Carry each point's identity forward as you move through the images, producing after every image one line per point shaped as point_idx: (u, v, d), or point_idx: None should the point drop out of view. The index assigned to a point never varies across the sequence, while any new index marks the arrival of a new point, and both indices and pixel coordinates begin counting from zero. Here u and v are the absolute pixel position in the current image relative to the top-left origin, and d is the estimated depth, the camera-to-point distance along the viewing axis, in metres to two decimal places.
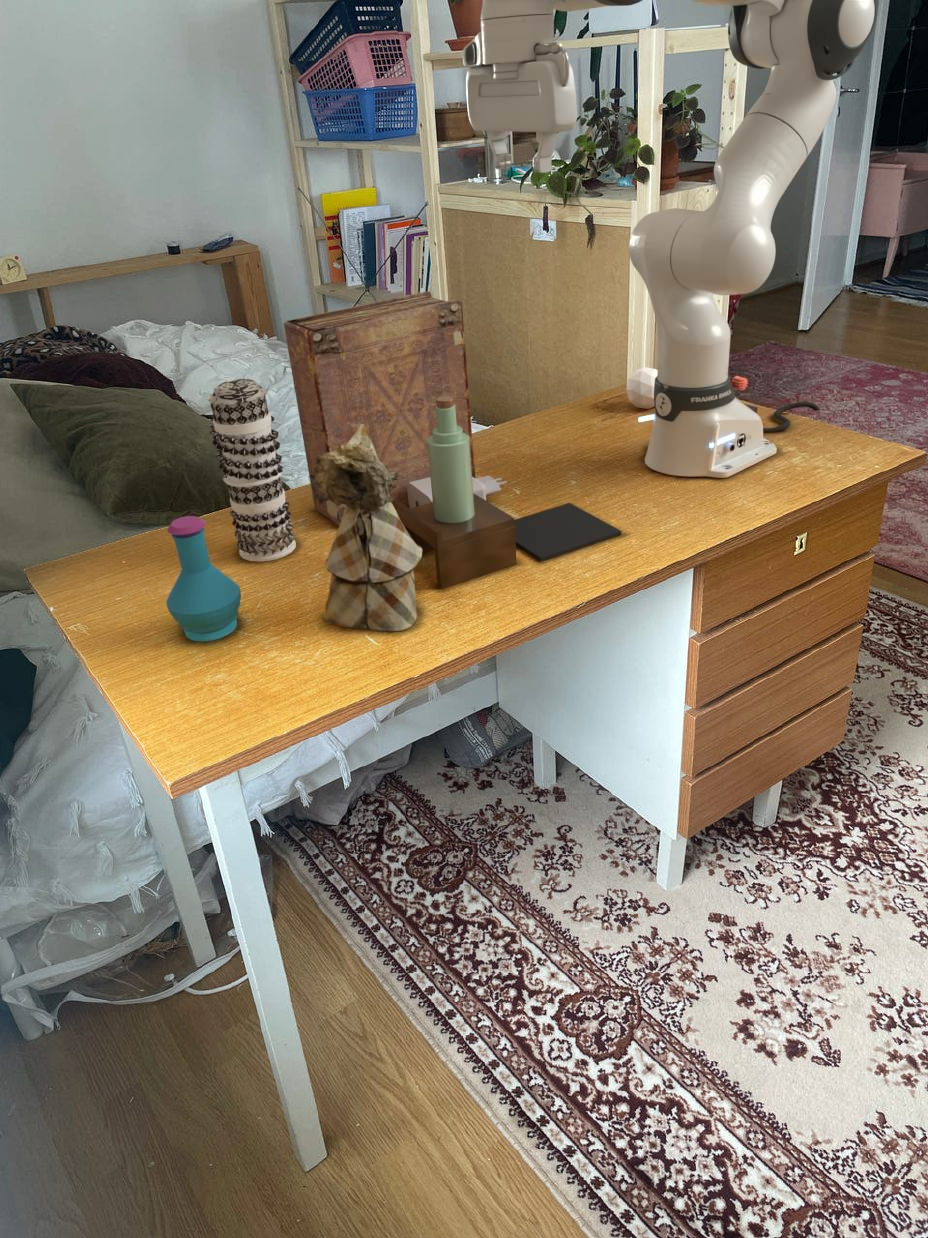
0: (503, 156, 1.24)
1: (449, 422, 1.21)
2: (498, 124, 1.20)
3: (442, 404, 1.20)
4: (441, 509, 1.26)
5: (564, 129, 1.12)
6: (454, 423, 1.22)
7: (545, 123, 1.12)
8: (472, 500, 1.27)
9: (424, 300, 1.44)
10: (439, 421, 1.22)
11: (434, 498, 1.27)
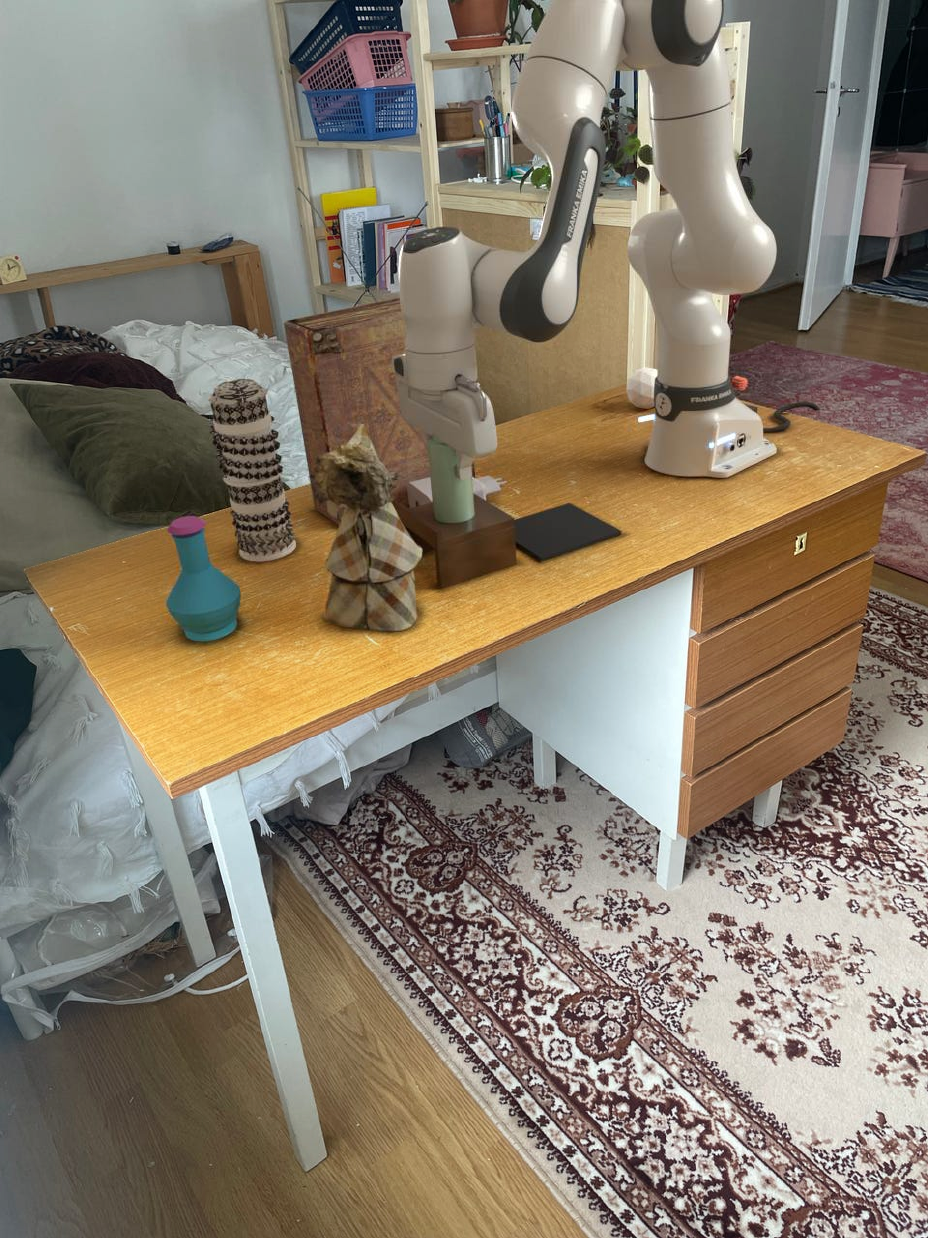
0: None
1: None
2: (426, 429, 1.24)
3: None
4: (441, 509, 1.26)
5: (485, 455, 1.16)
6: None
7: (466, 450, 1.16)
8: (472, 500, 1.27)
9: None
10: None
11: (434, 498, 1.27)
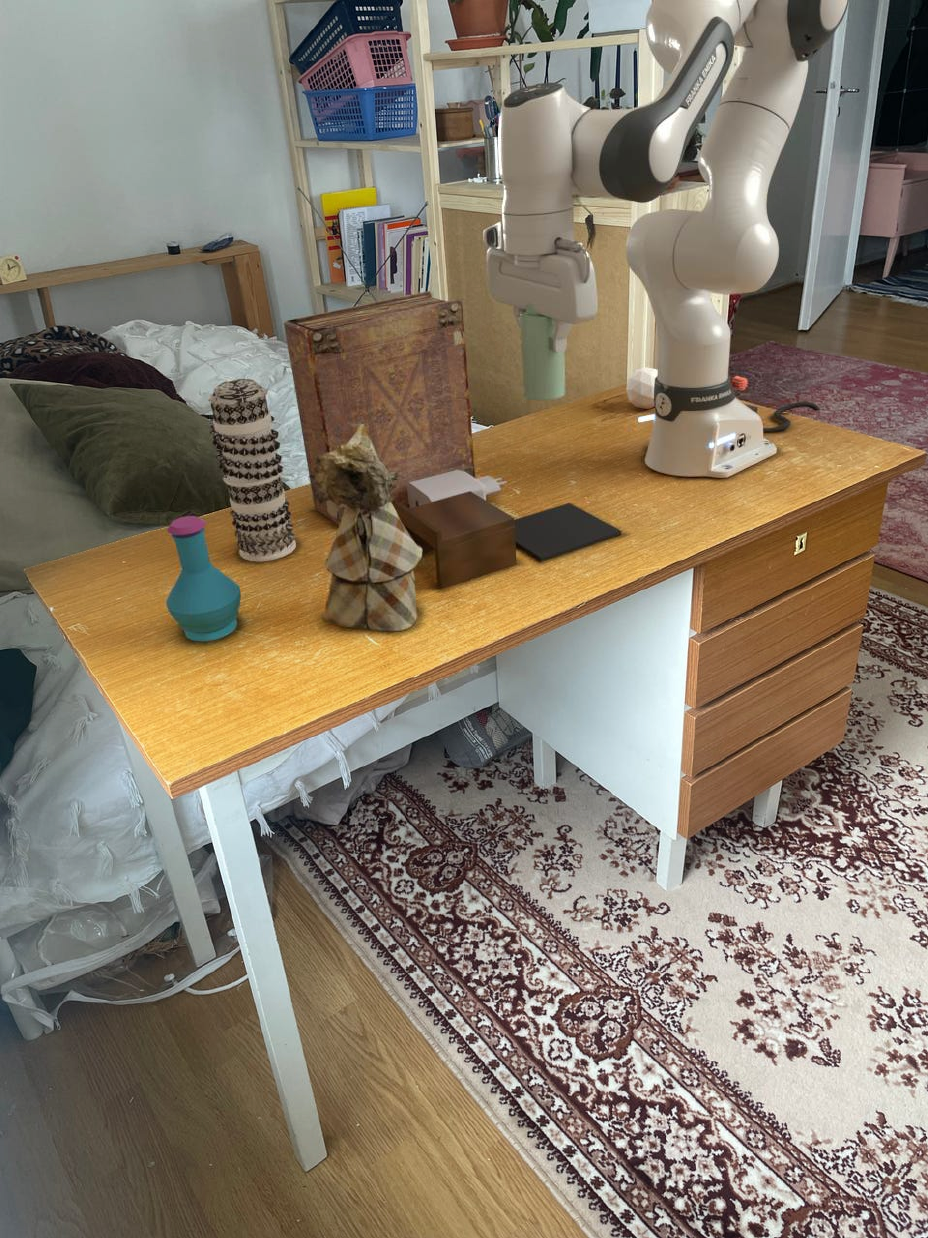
0: None
1: None
2: (519, 303, 1.23)
3: None
4: (533, 385, 1.25)
5: (585, 320, 1.14)
6: None
7: (566, 315, 1.14)
8: (564, 377, 1.25)
9: (424, 300, 1.44)
10: None
11: (526, 375, 1.25)
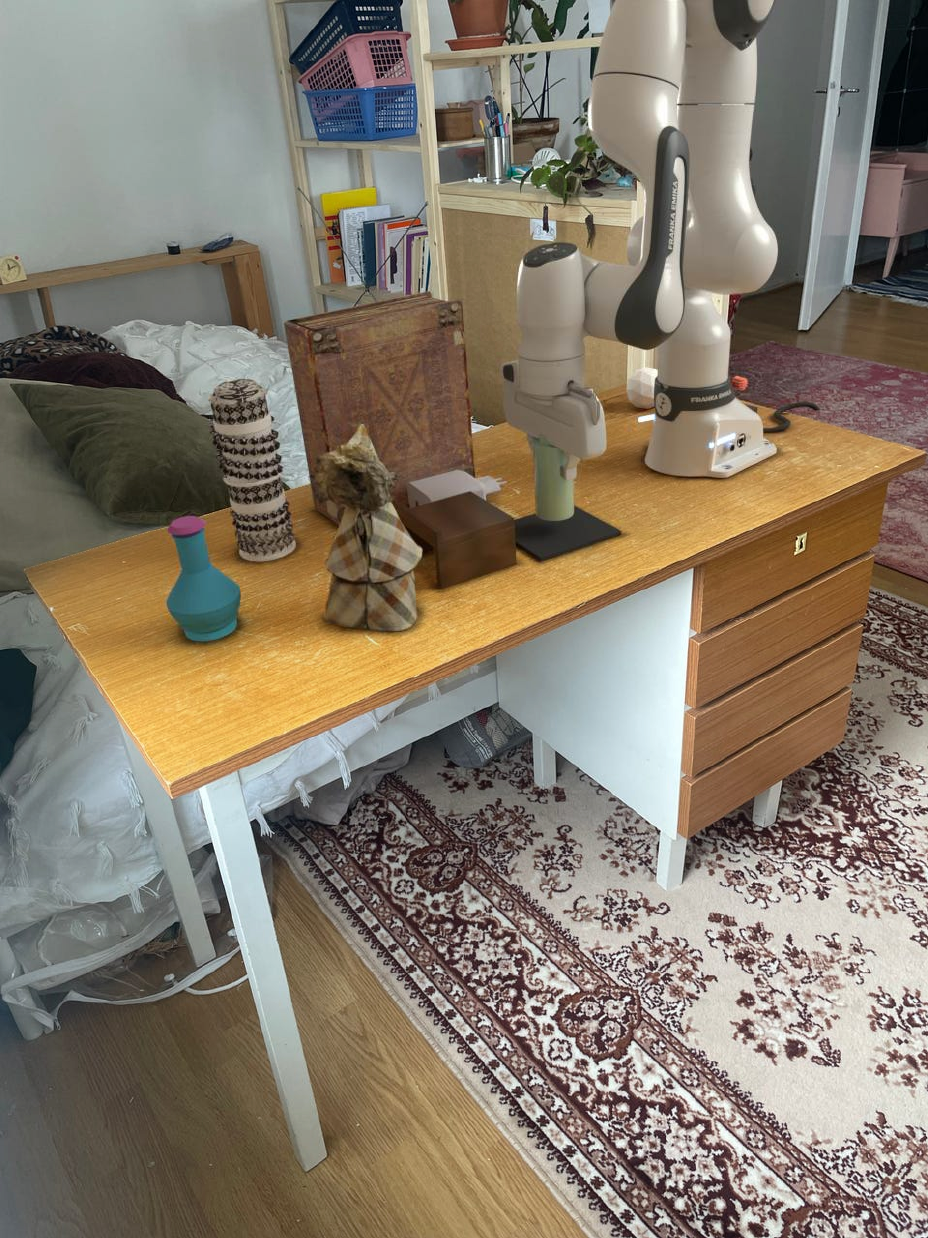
0: None
1: None
2: (532, 432, 1.32)
3: None
4: (544, 507, 1.34)
5: None
6: None
7: (578, 452, 1.24)
8: (573, 499, 1.35)
9: (424, 300, 1.44)
10: None
11: (538, 497, 1.34)
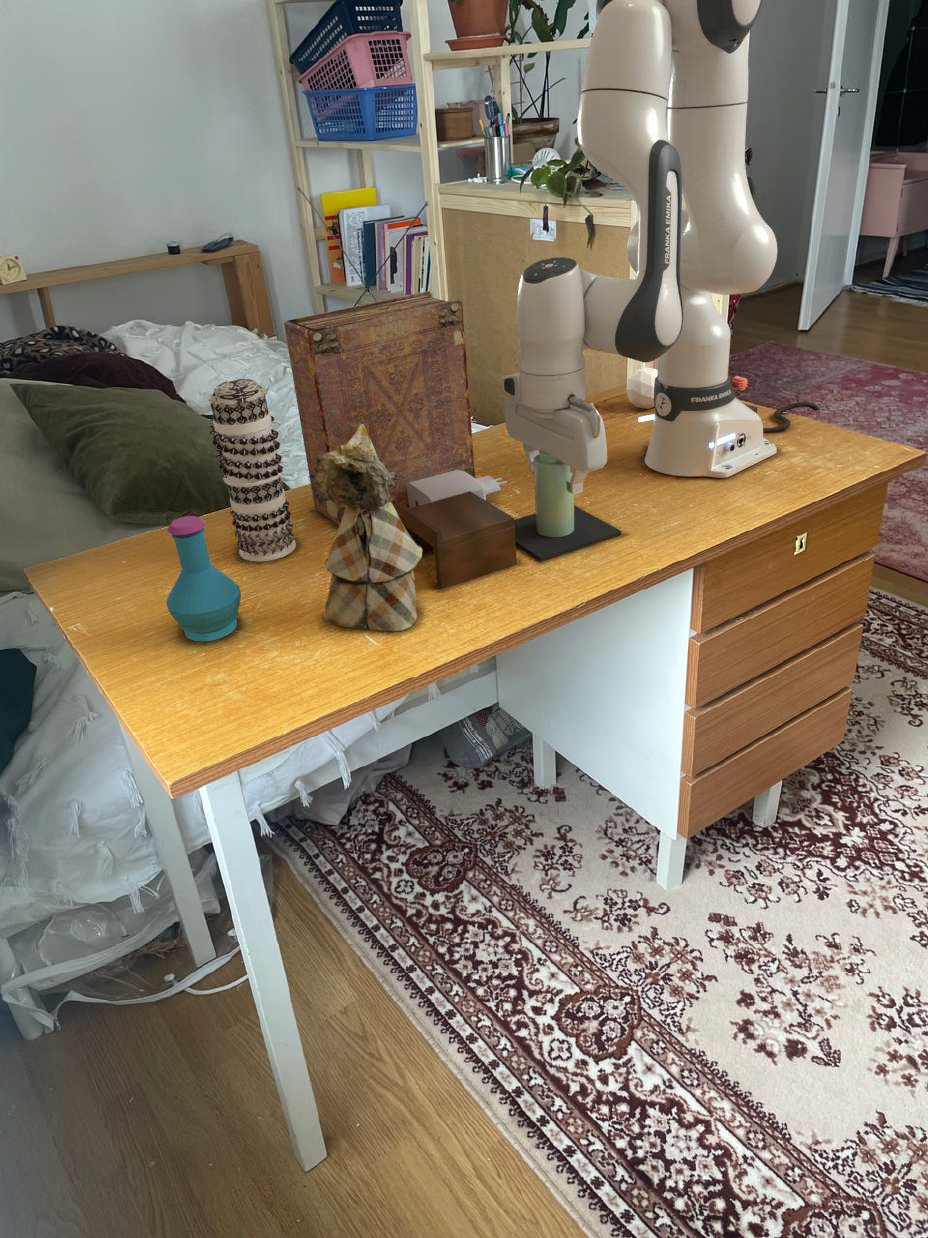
0: None
1: None
2: (534, 444, 1.33)
3: None
4: (545, 524, 1.35)
5: None
6: None
7: (578, 465, 1.25)
8: (573, 515, 1.36)
9: (424, 300, 1.44)
10: None
11: (538, 513, 1.35)
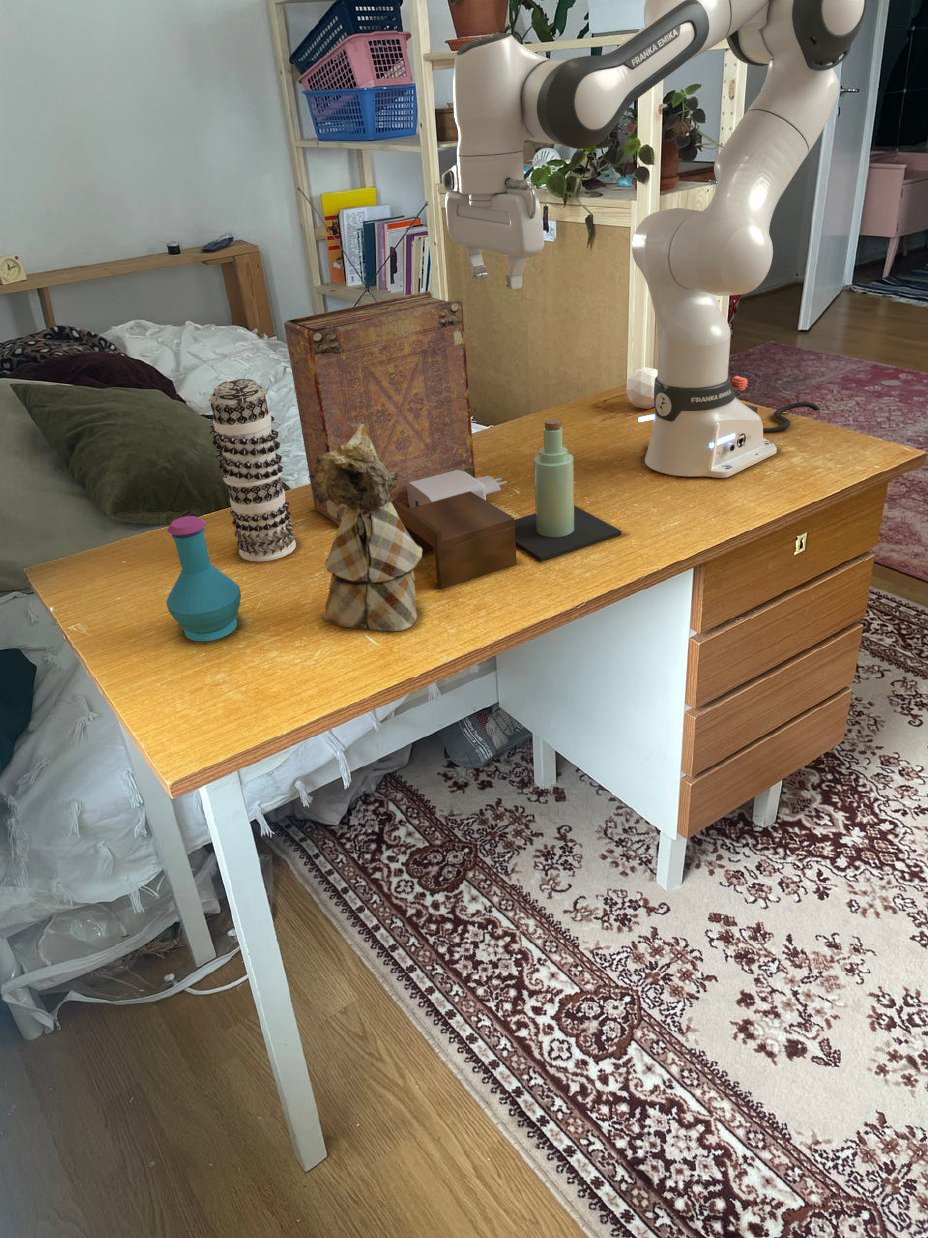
0: (479, 268, 1.36)
1: (556, 443, 1.30)
2: (474, 242, 1.32)
3: (551, 426, 1.29)
4: (545, 524, 1.35)
5: (532, 255, 1.24)
6: (561, 444, 1.31)
7: (515, 249, 1.24)
8: (573, 515, 1.36)
9: (424, 300, 1.44)
10: (547, 442, 1.30)
11: (538, 513, 1.35)
